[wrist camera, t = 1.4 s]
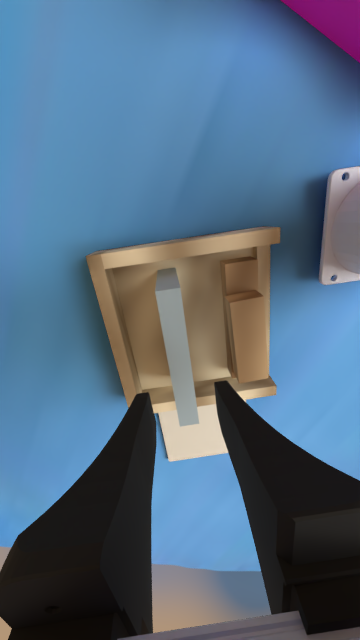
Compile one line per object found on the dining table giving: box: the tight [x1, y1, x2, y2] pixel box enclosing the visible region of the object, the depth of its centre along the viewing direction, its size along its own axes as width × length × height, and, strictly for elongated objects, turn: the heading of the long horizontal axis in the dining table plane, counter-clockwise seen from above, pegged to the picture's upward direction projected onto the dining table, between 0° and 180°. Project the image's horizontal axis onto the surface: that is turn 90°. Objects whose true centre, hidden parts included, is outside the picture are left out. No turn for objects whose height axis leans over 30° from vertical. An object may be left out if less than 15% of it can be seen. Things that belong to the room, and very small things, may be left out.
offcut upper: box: [224, 290, 268, 384], centre depth 19 cm, size 2×7×2 cm, turn 11°
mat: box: [158, 399, 246, 462], centre depth 26 cm, size 9×8×1 cm
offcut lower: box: [220, 256, 258, 378], centre depth 20 cm, size 2×10×2 cm, turn 8°
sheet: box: [155, 268, 199, 427], centre depth 18 cm, size 1×10×6 cm, turn 8°
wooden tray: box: [86, 226, 280, 413], centre depth 20 cm, size 13×14×3 cm
